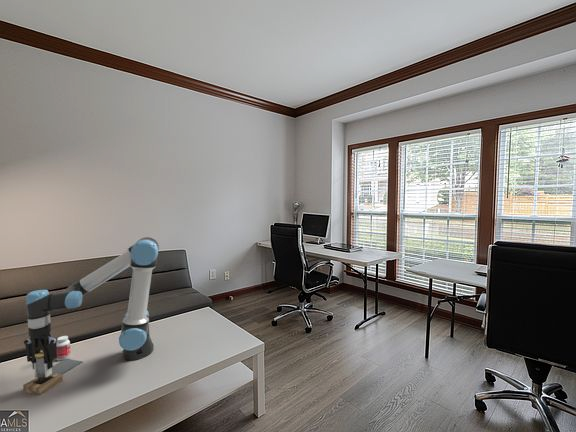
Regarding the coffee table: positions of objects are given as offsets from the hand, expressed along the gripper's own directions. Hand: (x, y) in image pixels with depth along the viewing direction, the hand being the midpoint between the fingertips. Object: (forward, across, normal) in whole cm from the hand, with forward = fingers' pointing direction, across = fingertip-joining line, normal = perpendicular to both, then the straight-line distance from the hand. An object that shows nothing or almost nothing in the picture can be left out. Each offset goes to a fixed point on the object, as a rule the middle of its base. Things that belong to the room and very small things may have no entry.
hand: (43, 375), depth 124 cm
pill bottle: (+5, +10, -22) cm, 25 cm away
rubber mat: (+5, +3, -14) cm, 15 cm away
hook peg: (+5, 0, 0) cm, 5 cm away
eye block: (+5, 0, 0) cm, 5 cm away
